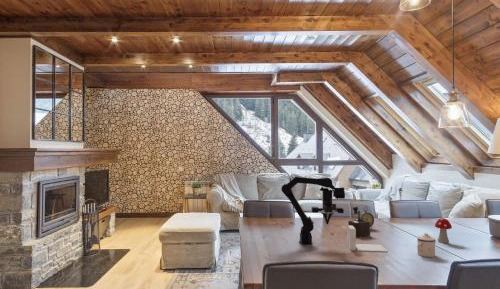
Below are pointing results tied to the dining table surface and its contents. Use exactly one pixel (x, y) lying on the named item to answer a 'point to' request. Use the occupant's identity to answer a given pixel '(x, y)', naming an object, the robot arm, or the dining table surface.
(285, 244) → the dining table surface
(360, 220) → the dark brown boxy piece
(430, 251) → the teacup with lid
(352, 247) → the beige rectangular block
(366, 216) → the alarm clock
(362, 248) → the mat
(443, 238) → the decorative mushroom
